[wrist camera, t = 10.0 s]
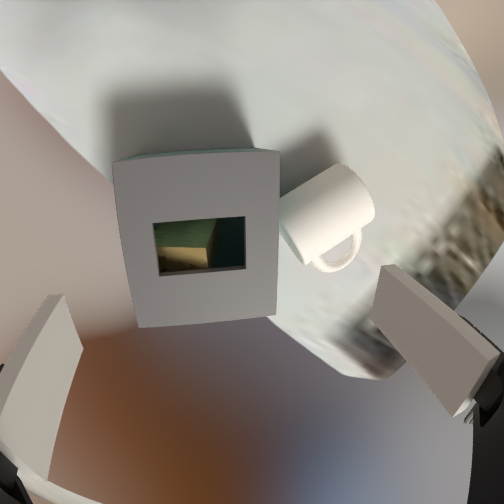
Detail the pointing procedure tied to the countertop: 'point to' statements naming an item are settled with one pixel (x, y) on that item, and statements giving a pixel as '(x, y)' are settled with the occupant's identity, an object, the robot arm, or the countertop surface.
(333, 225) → the mug
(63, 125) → the countertop surface
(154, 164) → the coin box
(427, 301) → the robot arm
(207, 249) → the gold block
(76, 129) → the countertop surface
